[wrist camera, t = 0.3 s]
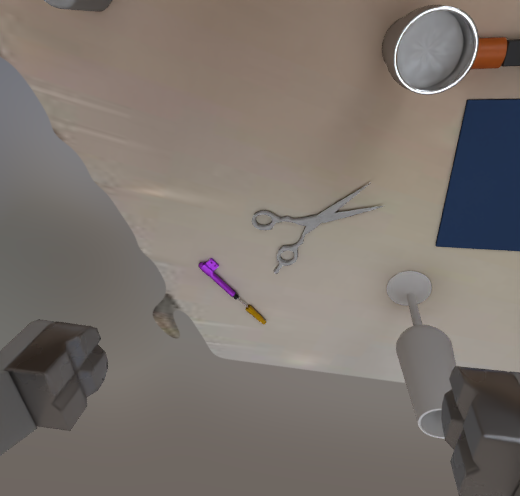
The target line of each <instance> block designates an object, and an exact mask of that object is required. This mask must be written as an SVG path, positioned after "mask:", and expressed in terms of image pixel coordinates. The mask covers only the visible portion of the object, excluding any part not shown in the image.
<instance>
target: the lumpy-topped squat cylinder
mask: <svg viewBox="0 0 520 496" xmlns="http://www.w3.org/2000/svg"><path fill="white" fill-rule="evenodd" d="M44 1H46V2H47V3H48V4H50V5H51V6H53V7H56V8H60V9H70V10H84V11H103V10H105V9H106V8H107V7H108V6H109V4H110V3H111V1H112V0H44Z"/></svg>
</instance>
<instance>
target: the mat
mask: <svg viewBox="0 0 520 496" xmlns="http://www.w3.org/2000/svg"><path fill="white" fill-rule="evenodd" d="M436 246H437V247H455V248H472V249H490V250H508V251H520V99H486V100H467V103H466V108H465V112H464V117H463V121H462V126H461V131H460V135H459V140H458V144H457V149H456V154H455V158H454V163H453V167H452V172H451V177H450V181H449V186H448V190H447V195H446V200H445V204H444V209H443V213H442V218H441V223H440V227H439V232H438V236H437V241H436Z"/></svg>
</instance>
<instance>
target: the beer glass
mask: <svg viewBox="0 0 520 496" xmlns="http://www.w3.org/2000/svg"><path fill="white" fill-rule="evenodd" d="M478 48H479V35H478V30H477V27H476V25H475V23H474V21H473V19H472V18H471V17H470V16H469V15H468V14H467V13H466V12H465V11H463V10H461V9H459V8H457V7H453V6H446V5H428V6H424V7H421V8H418V9H416V10H414V11H412V12H410V13H409V14H407V15H406V16H404V17H402V18H400V19H398V20H397V21H396V22H394V23H393V24H392V25H391V26H390V28H389V29H388V30H387V32H386V34H385V36H384V39H383V42H382V57H383V60H384V62H385V64H386V65H387V68H388V71H389V73H390V74H391V76H392V78H393V79H394V80H395V81H396V82H397V83H398V84H399V85H401V86H402V87H404V88H405V89H407V90H410V91H412V92H414V93H417V94H423V95H432V94H438V93H441V92H444V91H446V90H448V89H450V88H452V87H453V86H455V85H456V84H457V83H459V82H460V81H461V80H462V79H463V78H464V77H465V76H466V75H467V73H468V72H469V70H470V69H471V67H472V66H473V64H474V61H475V59H476V56H477V53H478Z"/></svg>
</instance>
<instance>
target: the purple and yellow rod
mask: <svg viewBox="0 0 520 496" xmlns="http://www.w3.org/2000/svg"><path fill="white" fill-rule="evenodd" d="M218 266H219V265H218V264H217V263H216V262H215V261H214V260H213V259H212V258H211V259H210V260H209V261H207V262H205V263H203V262H201V263H199V267H200V269H201V270H202V271H203V272H204V273H205V274H206V275H208V276H209V277H211V278H212V279H213V280H214V281H215V282H216V283H217V284H218V285H219V286H220V287H222V288H223V289H224V290H225V291H226V292H227V293H228V294H229V295H230V296H232V297H234V299H238V300H239V301H240V302H242V301H241V300H240V299H239V296H238V295H237V294H236V292H235V291H234V290H232V289H231V288H230V287H229V286H228V285H227V284H226V283H225V282H224V281H223V280H221V279H220V278H219V277H218V276H217V275H216V274H215V273H214V270H215V269H216V268H217V267H218ZM242 303H243V302H242ZM243 304H244V303H243ZM244 305H245V306H246V309H245V310H246V311H247V312H249V313H250V314H252V315H253V316H254V317H255V318H256V319H257V320H258V321H259V322H262V323H263V324H265V323H266V321H265V320H264V319H263V317H262V316H261V315H260V314H259V313H257V312H256V311H255V309H254V308H253V307H252V306H251V305H248V306H247V305H246V304H244Z"/></svg>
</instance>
